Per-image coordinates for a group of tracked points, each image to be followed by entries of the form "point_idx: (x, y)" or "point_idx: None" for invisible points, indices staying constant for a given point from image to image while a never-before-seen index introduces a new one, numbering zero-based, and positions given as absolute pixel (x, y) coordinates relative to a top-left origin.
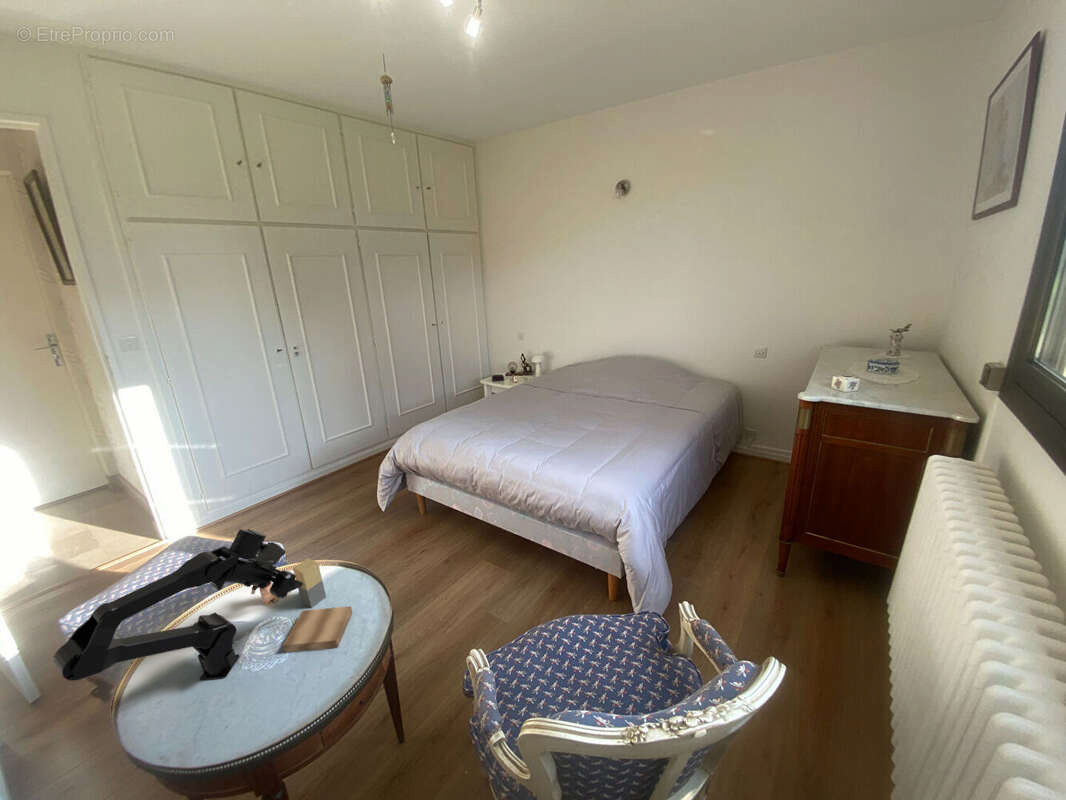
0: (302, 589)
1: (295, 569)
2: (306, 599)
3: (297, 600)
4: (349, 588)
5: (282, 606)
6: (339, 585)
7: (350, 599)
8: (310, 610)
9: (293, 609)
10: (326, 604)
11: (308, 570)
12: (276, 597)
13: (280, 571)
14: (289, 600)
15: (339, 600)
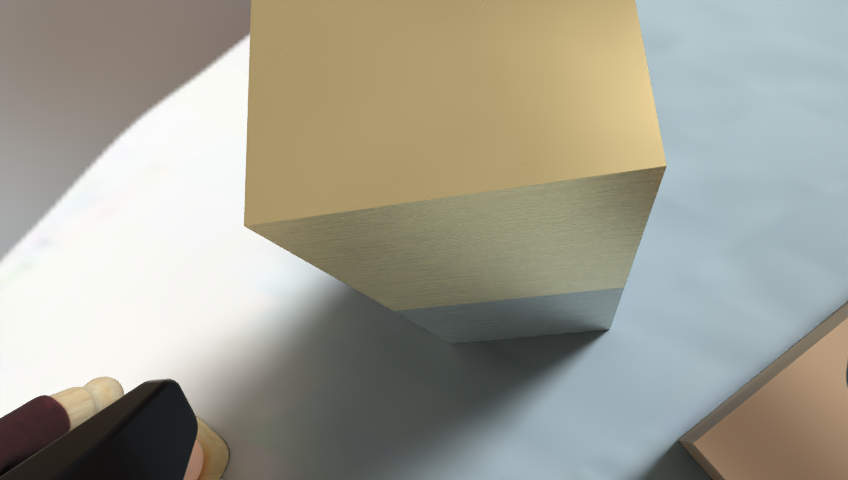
0: (504, 304)
1: (354, 213)
2: (547, 322)
3: (390, 352)
4: (664, 8)
5: (339, 473)
6: None
7: (825, 60)
8: (772, 389)
9: (469, 438)
10: (687, 223)
11: (641, 45)
12: (202, 451)
13: (96, 456)
14: (326, 394)
15: (743, 127)
